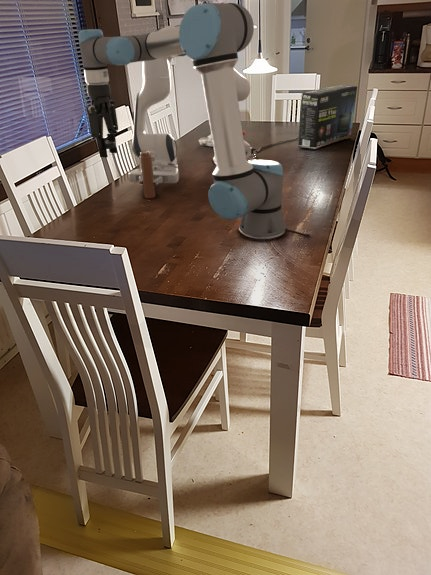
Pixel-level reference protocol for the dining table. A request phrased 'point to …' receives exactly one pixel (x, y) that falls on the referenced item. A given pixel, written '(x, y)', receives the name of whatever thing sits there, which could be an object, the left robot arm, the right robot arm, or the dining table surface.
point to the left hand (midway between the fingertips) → (147, 182)
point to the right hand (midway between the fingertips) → (108, 154)
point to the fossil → (206, 141)
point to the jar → (147, 174)
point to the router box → (326, 115)
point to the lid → (110, 144)
